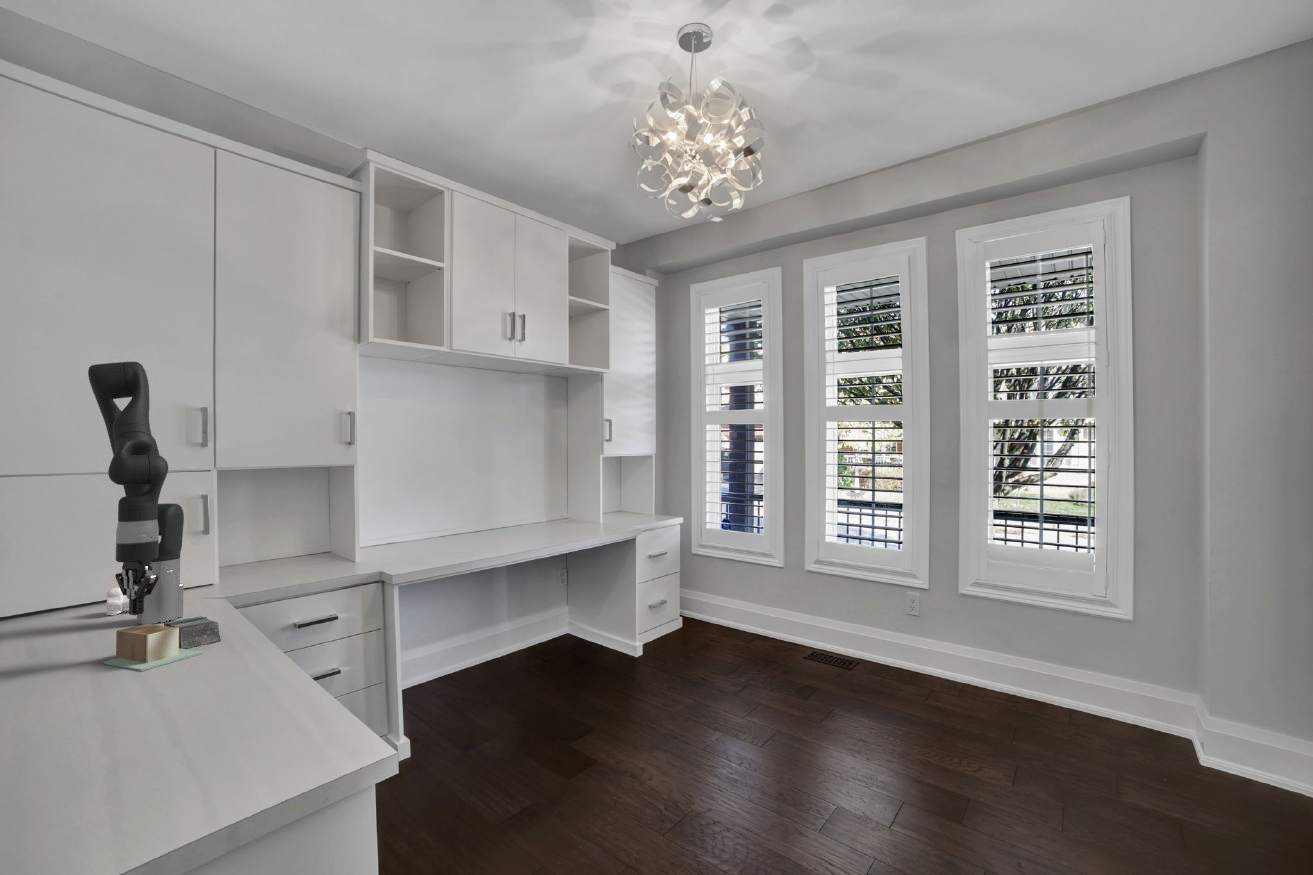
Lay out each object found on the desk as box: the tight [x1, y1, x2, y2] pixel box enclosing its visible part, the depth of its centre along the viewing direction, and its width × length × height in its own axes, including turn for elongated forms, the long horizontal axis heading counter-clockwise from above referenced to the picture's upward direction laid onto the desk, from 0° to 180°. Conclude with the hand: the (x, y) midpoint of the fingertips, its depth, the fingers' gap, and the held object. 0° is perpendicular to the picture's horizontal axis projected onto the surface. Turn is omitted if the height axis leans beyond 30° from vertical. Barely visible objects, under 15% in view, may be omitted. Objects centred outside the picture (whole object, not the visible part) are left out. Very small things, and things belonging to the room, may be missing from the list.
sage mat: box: [103, 648, 203, 672], centre depth 135 cm, size 12×14×1 cm
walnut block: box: [115, 624, 179, 663], centre depth 136 cm, size 6×6×12 cm
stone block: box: [163, 616, 222, 650], centre depth 148 cm, size 9×14×5 cm, turn 52°
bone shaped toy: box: [105, 586, 129, 616], centre depth 179 cm, size 15×9×8 cm, turn 127°
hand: (136, 614), depth 137 cm, fingers closed
